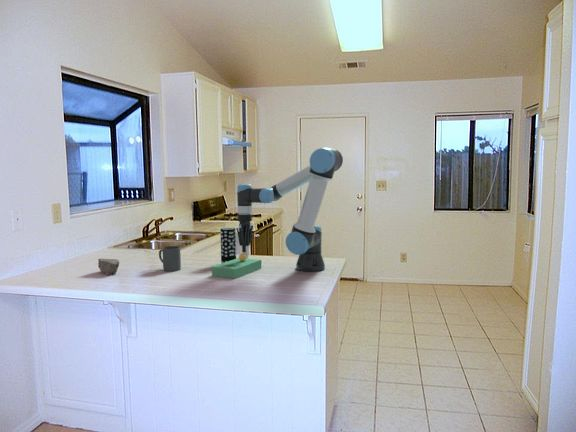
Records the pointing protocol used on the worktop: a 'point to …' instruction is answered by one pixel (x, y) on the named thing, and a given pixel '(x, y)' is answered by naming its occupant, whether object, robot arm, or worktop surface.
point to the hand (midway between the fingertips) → (245, 257)
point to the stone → (108, 266)
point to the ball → (242, 257)
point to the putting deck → (236, 268)
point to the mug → (171, 258)
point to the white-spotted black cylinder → (228, 244)
